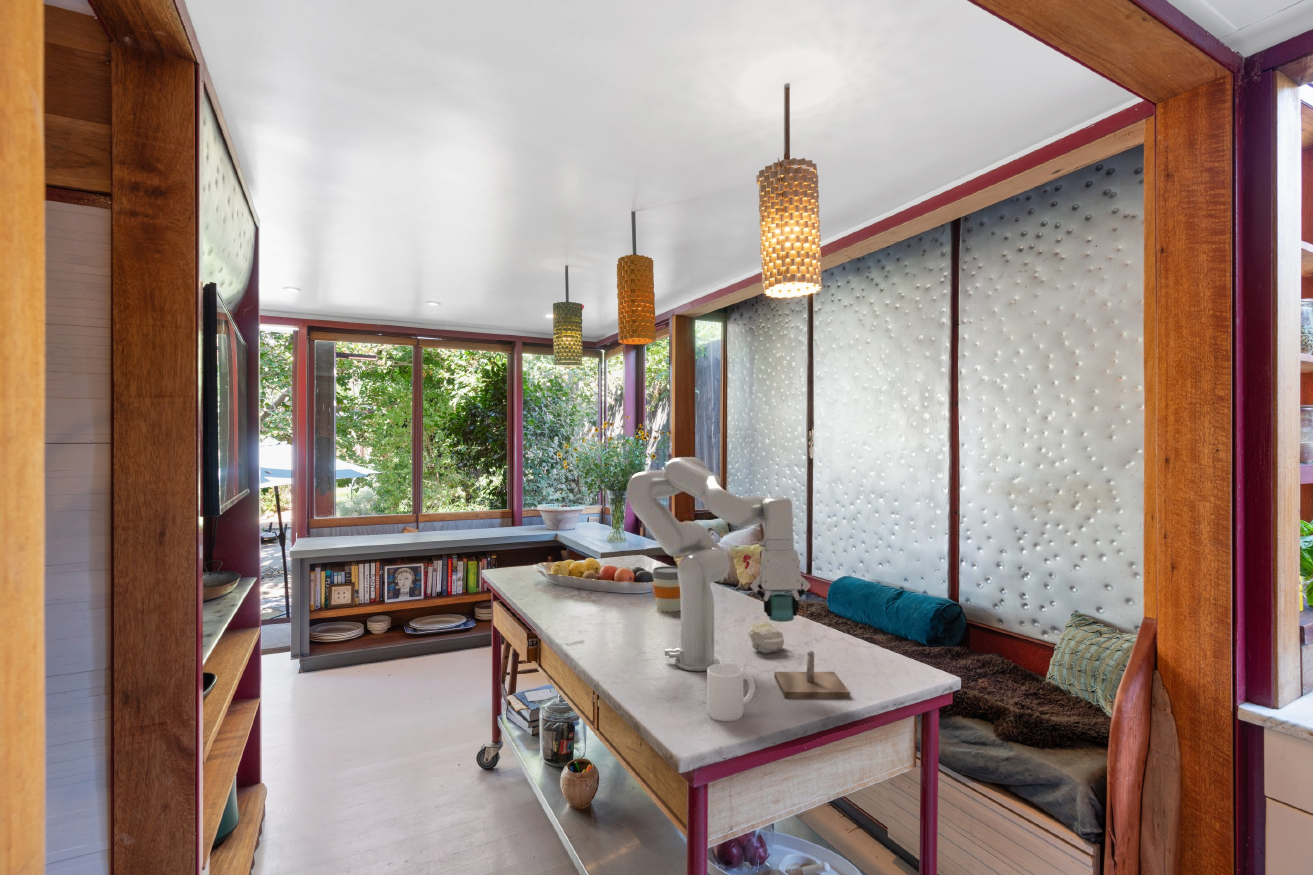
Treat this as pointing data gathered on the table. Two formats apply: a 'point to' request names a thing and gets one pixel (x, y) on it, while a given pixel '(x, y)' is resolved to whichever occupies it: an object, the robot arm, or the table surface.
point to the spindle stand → (811, 683)
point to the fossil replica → (766, 638)
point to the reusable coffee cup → (666, 588)
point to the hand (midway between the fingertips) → (781, 614)
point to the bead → (781, 607)
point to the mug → (727, 692)
